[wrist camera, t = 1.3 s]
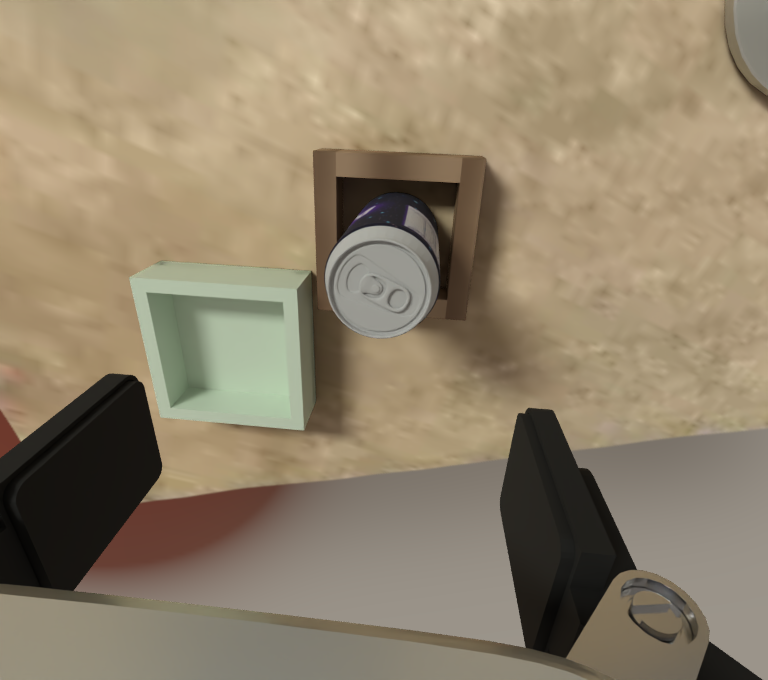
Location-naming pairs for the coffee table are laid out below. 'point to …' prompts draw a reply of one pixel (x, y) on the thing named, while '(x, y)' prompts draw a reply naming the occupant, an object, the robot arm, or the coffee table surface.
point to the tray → (229, 342)
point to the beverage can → (385, 267)
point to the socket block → (402, 167)
